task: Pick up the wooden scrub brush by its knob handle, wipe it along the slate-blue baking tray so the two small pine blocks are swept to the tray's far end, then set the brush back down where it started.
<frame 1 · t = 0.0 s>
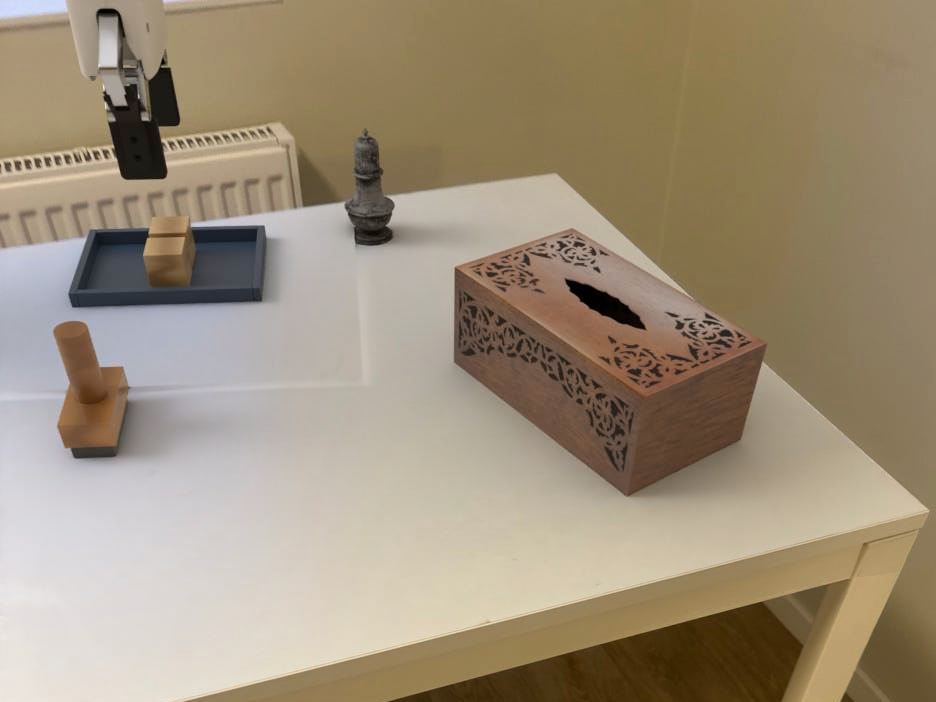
hand: (153, 150, 72), 24 cm above the table, tool pointing down, fingers open, 9 cm apart
block a: (172, 281, 105), point 1 cm above the table, touching tray
tissue box cover: (591, 400, 94), on the table
salt shaker: (371, 236, 115), on the table
block b: (176, 259, 108), point 1 cm above the table, touching tray
brush: (101, 428, 88), on the table
tray: (175, 277, 107), on the table
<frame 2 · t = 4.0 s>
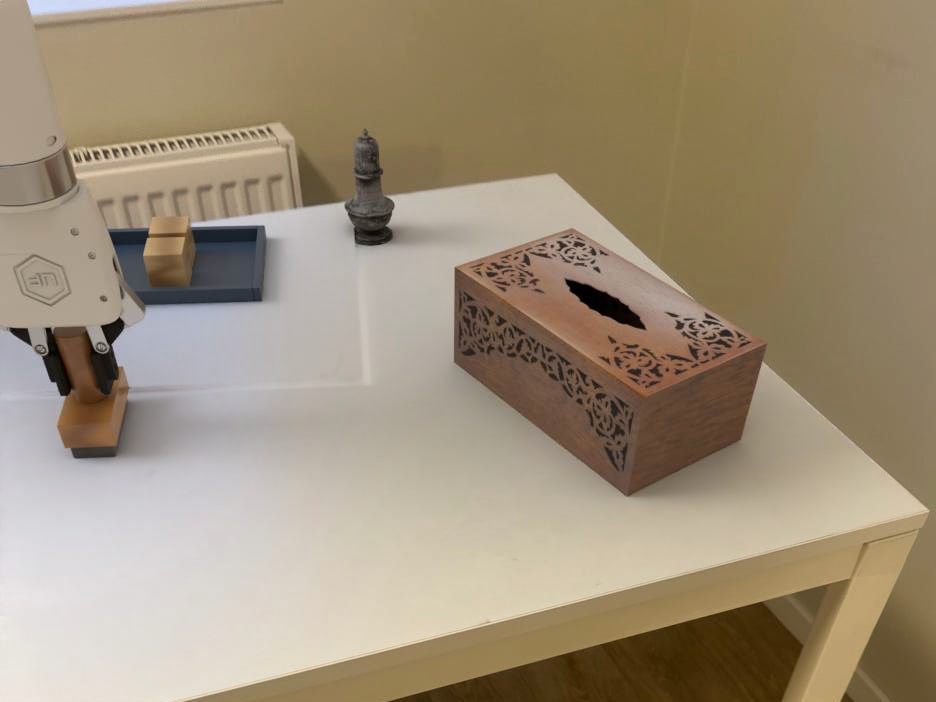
hand: (88, 385, 85), 5 cm above the table, tool pointing down, fingers closed on brush, 2 cm apart
brush: (101, 428, 88), on the table, touching gripper
everything else where it was.
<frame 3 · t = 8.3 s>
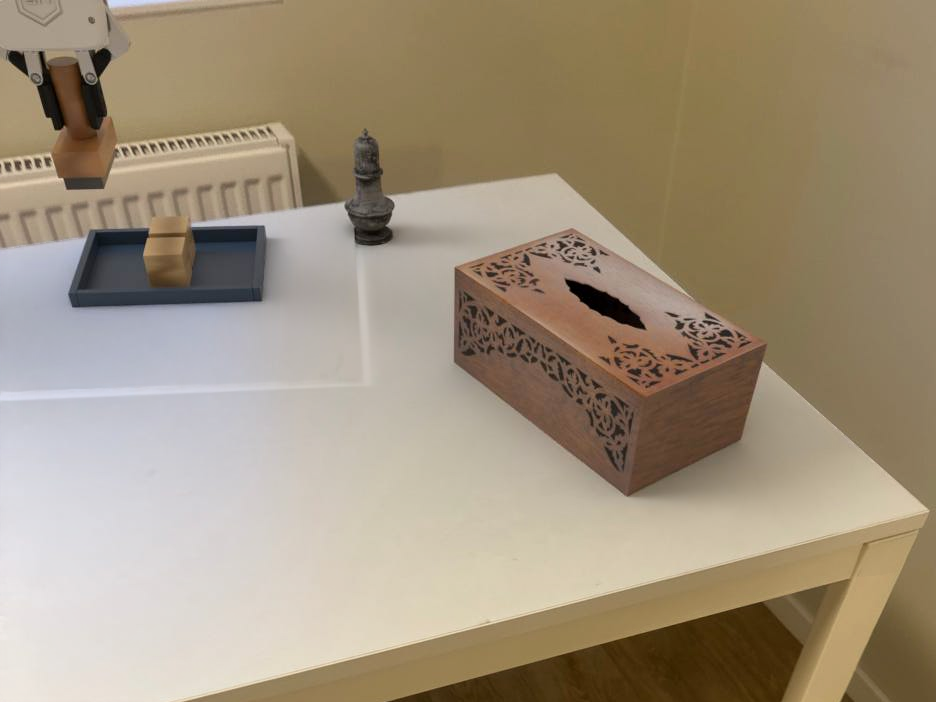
hand: (79, 123, 94), 16 cm above the table, tool pointing down, fingers closed on brush, 2 cm apart
brush: (92, 171, 97), point 12 cm above the table, touching gripper
everything else where it was.
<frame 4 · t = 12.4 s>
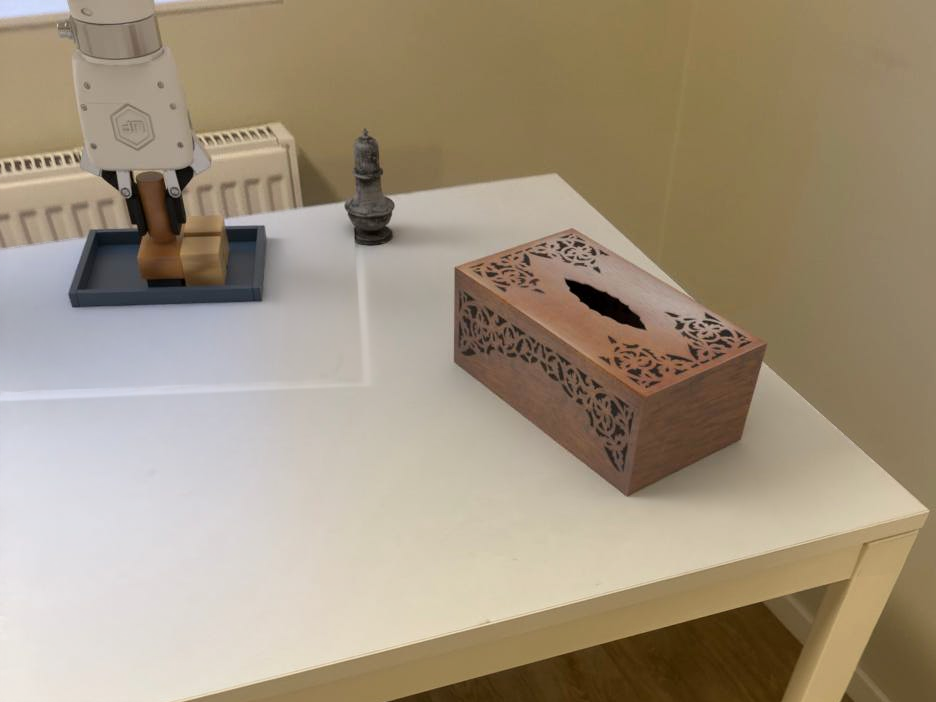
hand: (160, 228, 103), 6 cm above the table, tool pointing down, fingers closed on brush, 2 cm apart
block a: (207, 280, 105), point 1 cm above the table, touching tray
block b: (210, 258, 109), point 1 cm above the table, touching tray
brush: (169, 269, 106), point 1 cm above the table, touching gripper
everything else where it was.
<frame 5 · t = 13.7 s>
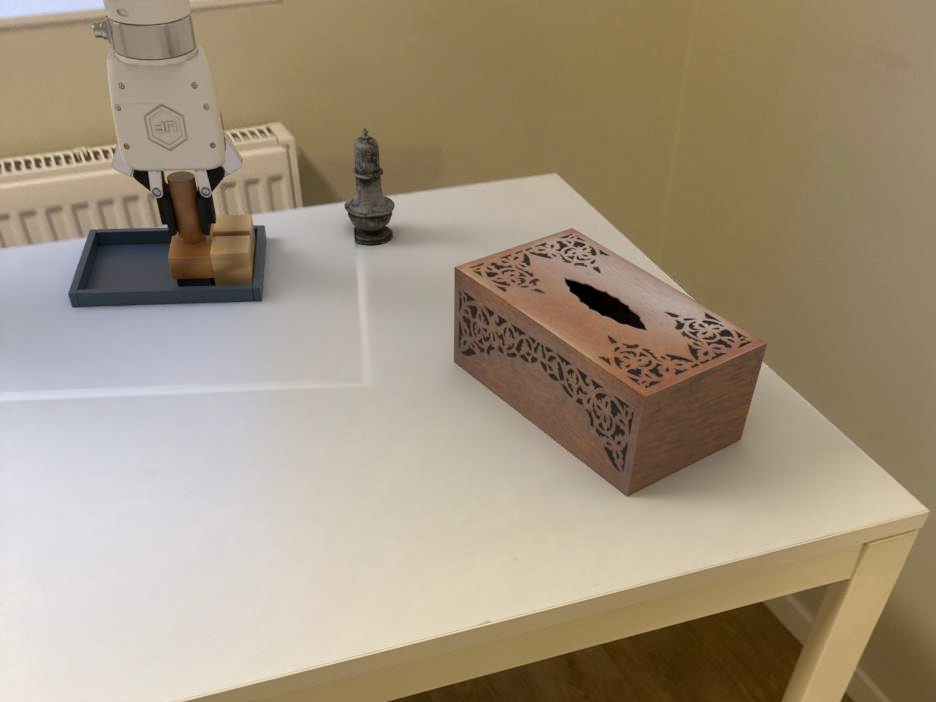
hand: (190, 228, 103), 5 cm above the table, tool pointing down, fingers closed on brush, 2 cm apart
block a: (236, 279, 105), point 1 cm above the table, touching brush, tray
block b: (238, 257, 109), point 1 cm above the table, touching brush, tray
brush: (198, 269, 107), point 1 cm above the table, touching block a, block b, gripper
everything else where it was.
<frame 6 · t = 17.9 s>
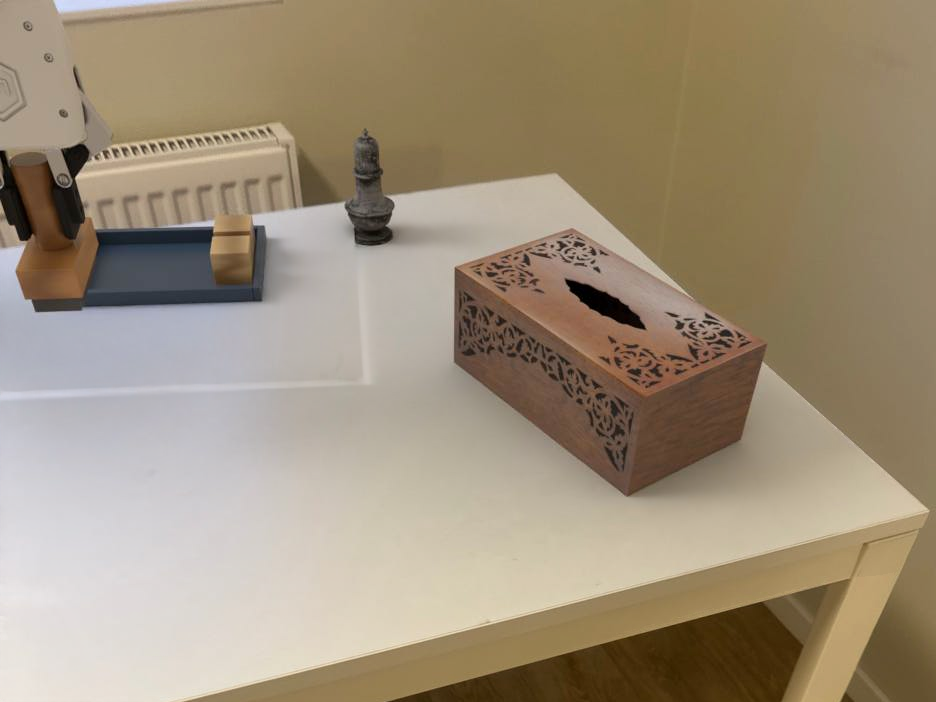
hand: (50, 230, 76), 18 cm above the table, tool pointing down, fingers closed on brush, 2 cm apart
block a: (236, 279, 105), point 1 cm above the table, touching tray
block b: (238, 257, 109), point 1 cm above the table, touching tray
brush: (67, 285, 79), point 13 cm above the table, touching gripper
everything else where it was.
when the fingers open (5 cm above the table, at t = 21.0 s): brush stays where it is, on the table.
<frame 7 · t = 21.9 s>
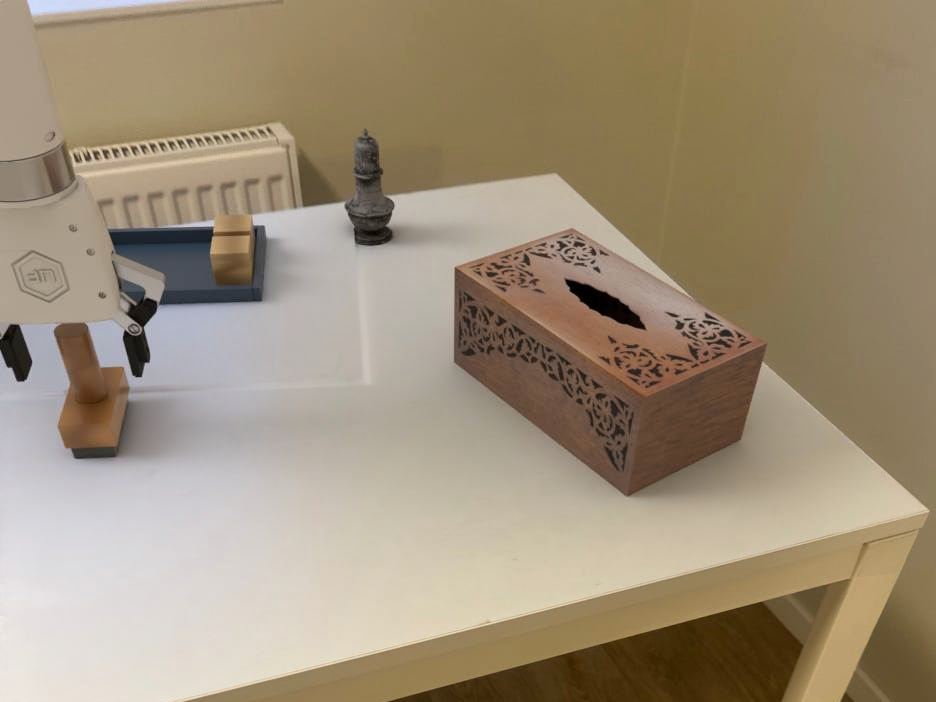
hand: (82, 370, 84), 6 cm above the table, tool pointing down, fingers open, 9 cm apart
brush: (102, 428, 88), on the table
everything else where it was.
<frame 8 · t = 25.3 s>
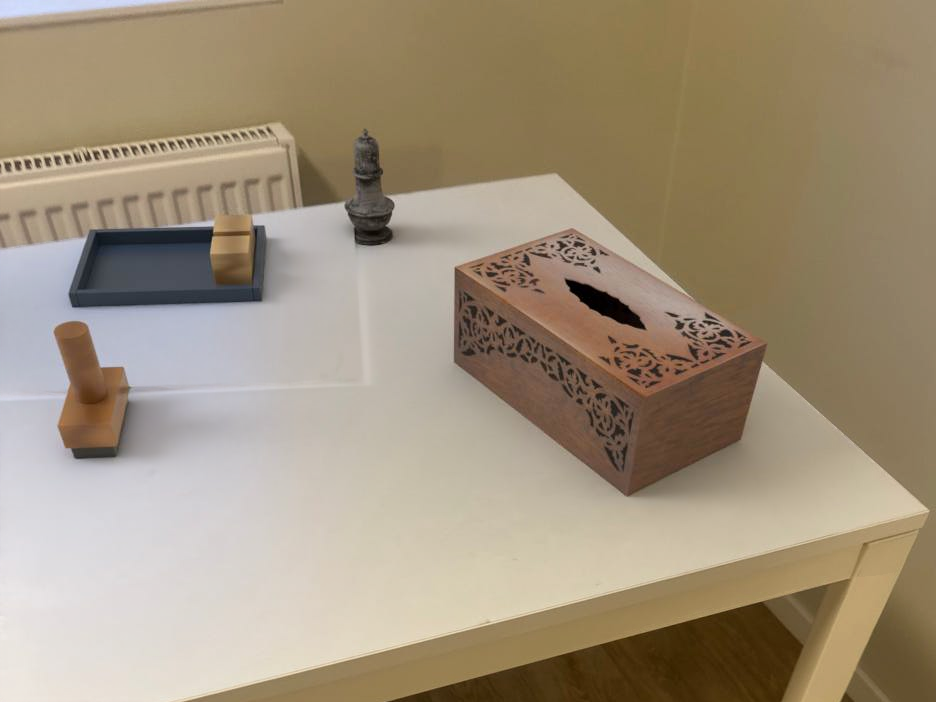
nothing on the table moved.
at the end: block a inside the target area in the tray (2.6 cm from its centre), point 0.8 cm above the tray's base; block b inside the target area in the tray (2.6 cm from its centre), point 0.8 cm above the tray's base; brush inside the target area (0.1 cm from its centre), on the table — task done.
